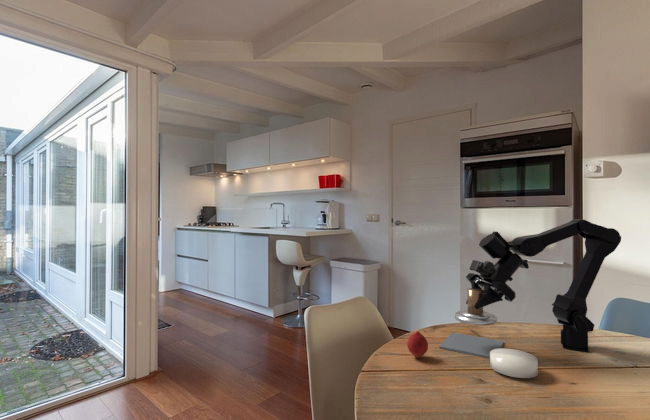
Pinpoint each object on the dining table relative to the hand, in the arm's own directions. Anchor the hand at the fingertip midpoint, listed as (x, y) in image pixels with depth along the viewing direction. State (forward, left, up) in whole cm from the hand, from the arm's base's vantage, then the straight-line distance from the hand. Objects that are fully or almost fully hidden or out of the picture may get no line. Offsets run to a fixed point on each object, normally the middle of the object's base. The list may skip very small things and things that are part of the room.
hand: (471, 306), depth 107 cm
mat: (+1, -4, -13) cm, 14 cm away
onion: (+12, +15, -13) cm, 23 cm away
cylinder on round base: (-1, -1, -4) cm, 4 cm away
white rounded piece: (-12, +10, -13) cm, 21 cm away
